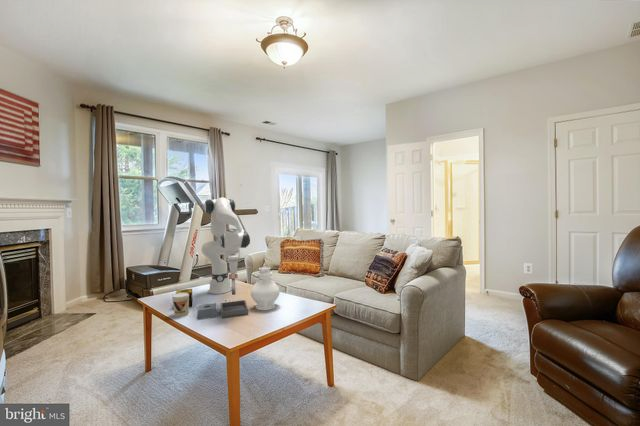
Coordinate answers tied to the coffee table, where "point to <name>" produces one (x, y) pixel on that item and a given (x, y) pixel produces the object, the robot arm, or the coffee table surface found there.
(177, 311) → the coffee cup
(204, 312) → the hitch block
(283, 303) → the coffee table surface
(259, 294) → the decorative vase
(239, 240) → the robot arm
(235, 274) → the pin
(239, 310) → the tray
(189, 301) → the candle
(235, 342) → the coffee table surface
